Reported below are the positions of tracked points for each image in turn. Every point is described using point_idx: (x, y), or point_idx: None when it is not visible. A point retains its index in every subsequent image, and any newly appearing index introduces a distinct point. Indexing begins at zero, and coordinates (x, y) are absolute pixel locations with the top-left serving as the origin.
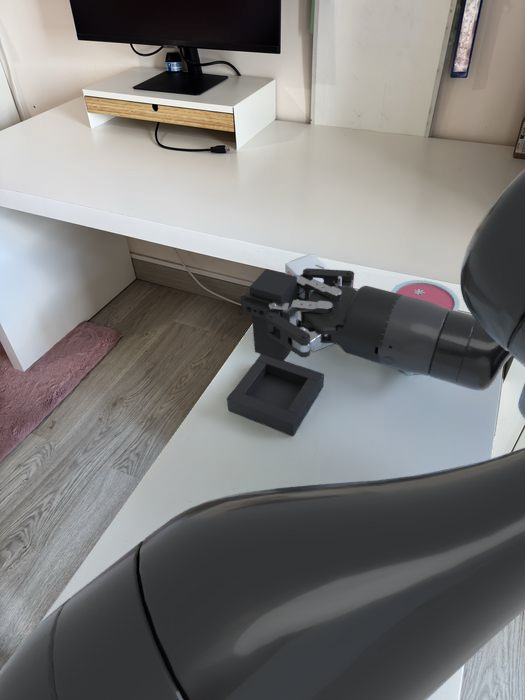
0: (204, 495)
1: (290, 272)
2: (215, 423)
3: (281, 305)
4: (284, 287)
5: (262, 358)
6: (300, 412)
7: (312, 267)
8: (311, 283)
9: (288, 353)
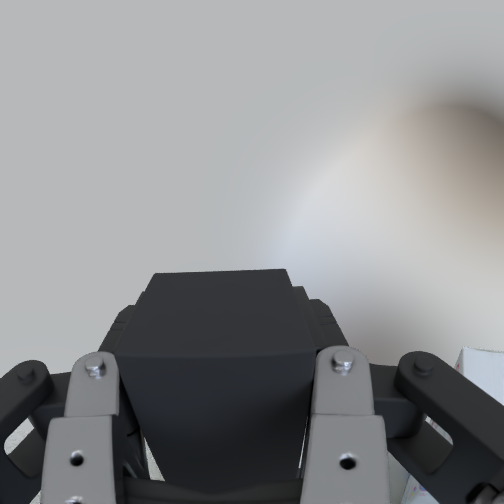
0: (38, 498)
1: (459, 368)
2: (151, 479)
3: (95, 390)
4: (188, 344)
5: (298, 475)
6: None
7: (500, 379)
8: (331, 435)
9: None
